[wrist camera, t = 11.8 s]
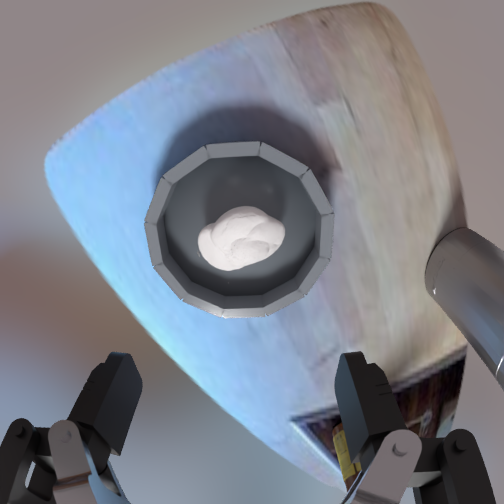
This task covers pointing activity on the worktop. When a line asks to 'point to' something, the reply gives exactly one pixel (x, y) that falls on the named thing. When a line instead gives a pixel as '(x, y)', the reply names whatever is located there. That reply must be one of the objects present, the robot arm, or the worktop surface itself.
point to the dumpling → (240, 238)
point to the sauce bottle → (345, 457)
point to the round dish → (224, 199)
